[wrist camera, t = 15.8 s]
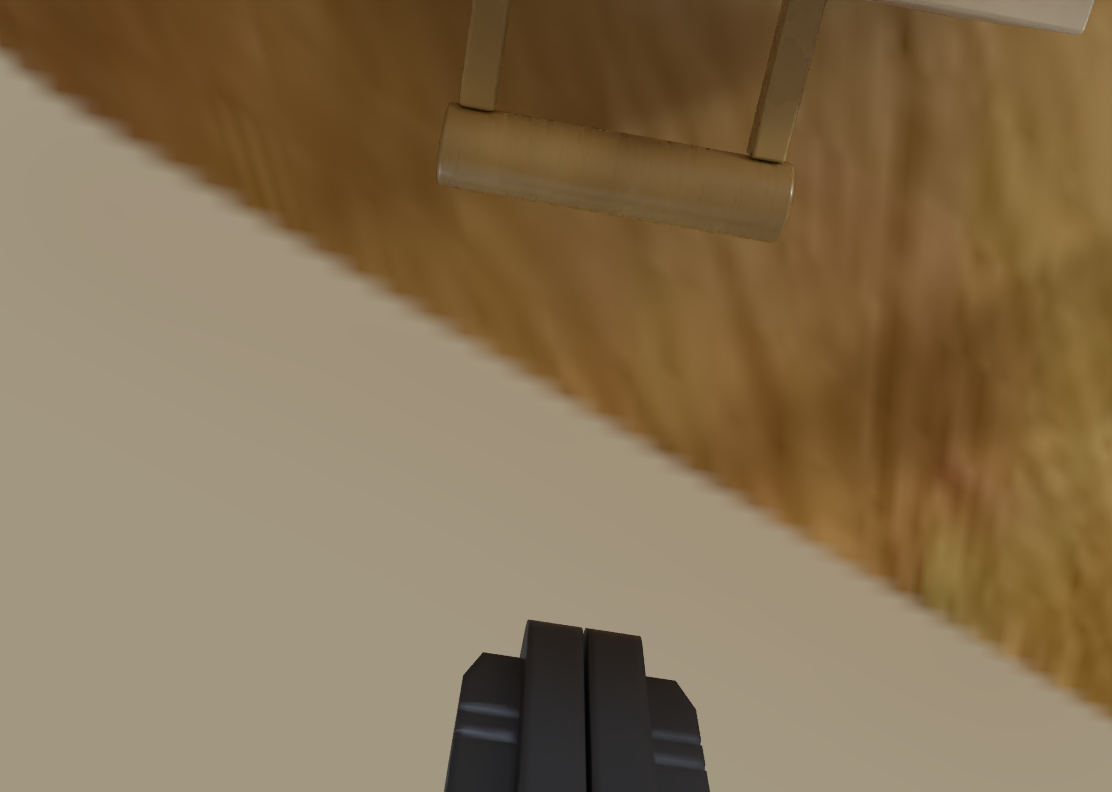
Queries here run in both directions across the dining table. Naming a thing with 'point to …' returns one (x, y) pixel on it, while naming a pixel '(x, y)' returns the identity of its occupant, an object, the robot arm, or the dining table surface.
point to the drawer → (657, 165)
